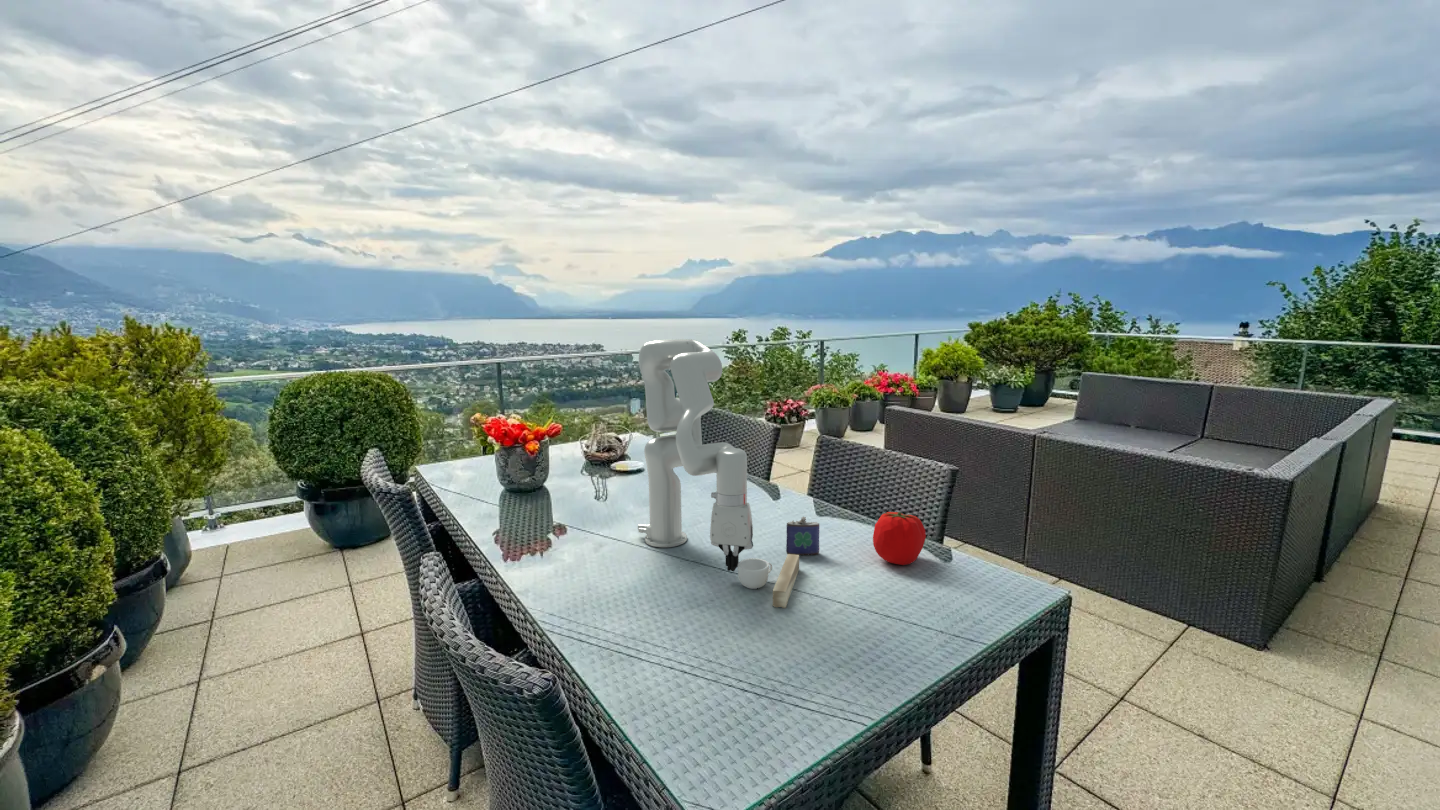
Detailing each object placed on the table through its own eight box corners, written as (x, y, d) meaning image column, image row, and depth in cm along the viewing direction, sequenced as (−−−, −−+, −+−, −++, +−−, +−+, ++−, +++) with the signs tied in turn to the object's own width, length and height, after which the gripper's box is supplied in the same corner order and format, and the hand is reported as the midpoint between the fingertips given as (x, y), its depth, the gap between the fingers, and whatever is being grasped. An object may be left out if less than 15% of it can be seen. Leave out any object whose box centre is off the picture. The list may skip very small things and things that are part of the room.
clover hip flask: (818, 551, 166) (819, 515, 164) (819, 556, 163) (820, 518, 161) (785, 551, 166) (786, 515, 165) (786, 555, 163) (786, 518, 162)
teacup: (750, 595, 139) (750, 573, 139) (731, 583, 146) (731, 563, 145) (782, 583, 145) (782, 563, 145) (761, 573, 151) (762, 553, 151)
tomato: (893, 575, 150) (895, 523, 148) (859, 555, 162) (861, 508, 161) (939, 564, 156) (941, 515, 154) (904, 546, 169) (905, 501, 167)
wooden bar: (772, 606, 134) (772, 590, 133) (787, 568, 155) (787, 553, 154) (785, 608, 133) (785, 591, 132) (799, 569, 154) (799, 554, 153)
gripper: (698, 500, 143) (699, 571, 145) (758, 505, 139) (757, 578, 141) (707, 492, 150) (708, 560, 153) (764, 496, 146) (764, 566, 149)
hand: (732, 568), depth 147 cm, fingers closed
